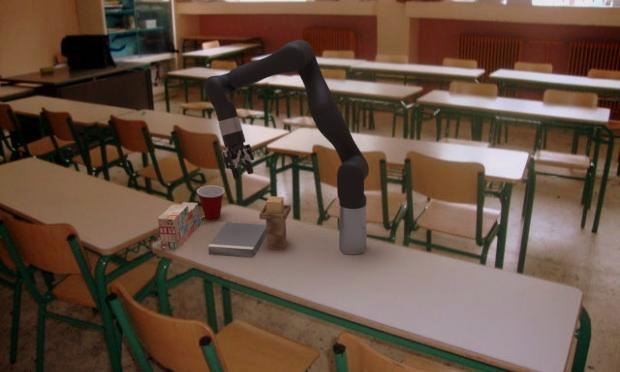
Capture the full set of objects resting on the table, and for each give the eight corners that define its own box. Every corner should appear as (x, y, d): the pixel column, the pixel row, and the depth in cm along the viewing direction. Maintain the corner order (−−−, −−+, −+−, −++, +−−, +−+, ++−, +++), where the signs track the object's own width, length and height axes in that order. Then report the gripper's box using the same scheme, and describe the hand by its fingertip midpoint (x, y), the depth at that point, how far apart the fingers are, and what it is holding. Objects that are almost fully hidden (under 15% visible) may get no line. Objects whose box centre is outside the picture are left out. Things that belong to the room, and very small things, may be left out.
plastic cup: (216, 225, 216) (214, 196, 211) (194, 220, 220) (191, 192, 216) (232, 214, 225) (230, 187, 220) (210, 210, 229) (207, 183, 225)
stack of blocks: (185, 223, 218) (182, 194, 214) (200, 224, 217) (197, 195, 212) (161, 249, 199) (157, 217, 194) (177, 250, 197) (174, 218, 193)
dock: (267, 231, 209) (267, 224, 208) (253, 257, 191) (252, 249, 190) (227, 229, 212) (226, 221, 211) (209, 254, 194) (208, 246, 193)
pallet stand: (292, 240, 202) (290, 205, 197) (286, 251, 194) (285, 215, 189) (268, 238, 204) (266, 203, 199) (261, 250, 196) (259, 213, 191)
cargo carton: (284, 210, 196) (283, 197, 195) (280, 215, 192) (280, 202, 190) (270, 209, 197) (269, 196, 195) (266, 215, 193) (266, 201, 191)
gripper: (228, 132, 186) (241, 179, 188) (251, 126, 198) (263, 170, 201) (211, 137, 190) (224, 182, 192) (234, 130, 202) (246, 173, 204)
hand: (244, 176), depth 196 cm, fingers open, 8 cm apart
